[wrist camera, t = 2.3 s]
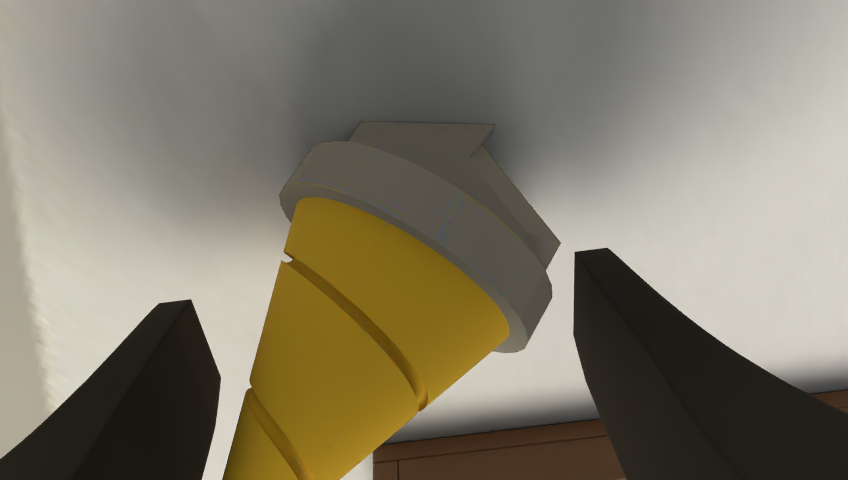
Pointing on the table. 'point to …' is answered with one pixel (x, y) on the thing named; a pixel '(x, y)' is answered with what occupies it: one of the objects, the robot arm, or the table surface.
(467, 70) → the table surface
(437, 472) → the tray
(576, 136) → the table surface
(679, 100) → the table surface
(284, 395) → the drill bit
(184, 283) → the table surface
